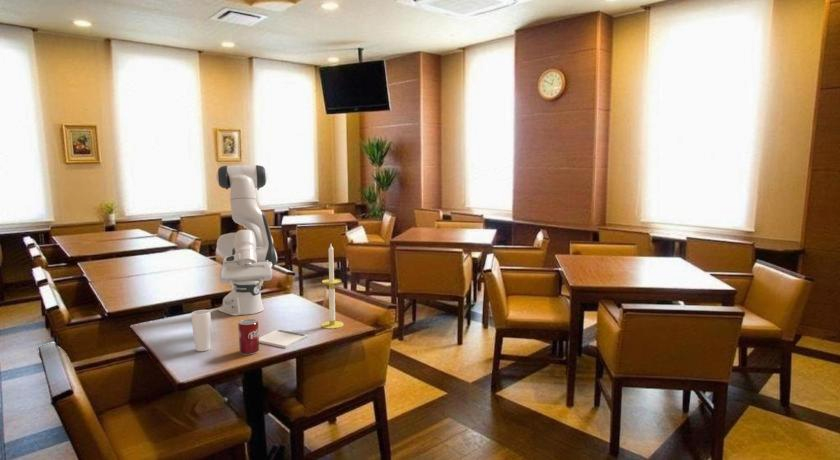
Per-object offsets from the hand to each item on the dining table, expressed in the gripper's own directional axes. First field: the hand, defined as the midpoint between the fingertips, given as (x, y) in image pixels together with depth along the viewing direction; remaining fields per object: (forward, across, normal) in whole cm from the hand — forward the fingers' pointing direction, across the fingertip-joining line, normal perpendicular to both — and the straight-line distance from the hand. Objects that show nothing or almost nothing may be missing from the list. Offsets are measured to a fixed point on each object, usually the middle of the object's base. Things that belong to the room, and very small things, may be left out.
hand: (246, 289), depth 194 cm
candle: (+8, -35, -23) cm, 43 cm away
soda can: (+23, 0, -8) cm, 25 cm away
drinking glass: (+17, +17, -14) cm, 28 cm away
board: (+16, -13, -15) cm, 25 cm away
